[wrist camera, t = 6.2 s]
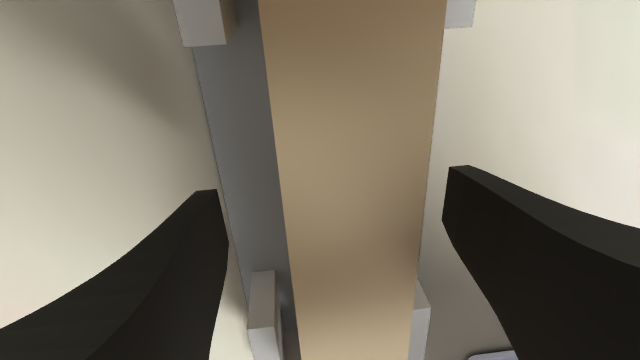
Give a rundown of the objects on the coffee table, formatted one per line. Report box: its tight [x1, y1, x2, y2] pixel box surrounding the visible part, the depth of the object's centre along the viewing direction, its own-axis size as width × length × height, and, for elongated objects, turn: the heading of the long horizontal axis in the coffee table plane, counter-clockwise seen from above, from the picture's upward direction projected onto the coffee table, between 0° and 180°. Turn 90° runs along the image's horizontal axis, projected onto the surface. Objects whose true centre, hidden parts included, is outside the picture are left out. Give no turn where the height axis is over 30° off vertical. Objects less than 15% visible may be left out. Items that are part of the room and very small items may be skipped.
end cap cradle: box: [173, 0, 476, 360], centre depth 13 cm, size 24×8×4 cm, turn 3°
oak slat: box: [258, 0, 447, 360], centre depth 11 cm, size 16×3×6 cm, turn 3°
